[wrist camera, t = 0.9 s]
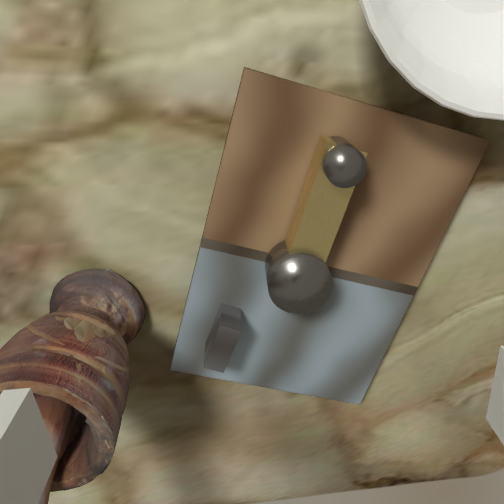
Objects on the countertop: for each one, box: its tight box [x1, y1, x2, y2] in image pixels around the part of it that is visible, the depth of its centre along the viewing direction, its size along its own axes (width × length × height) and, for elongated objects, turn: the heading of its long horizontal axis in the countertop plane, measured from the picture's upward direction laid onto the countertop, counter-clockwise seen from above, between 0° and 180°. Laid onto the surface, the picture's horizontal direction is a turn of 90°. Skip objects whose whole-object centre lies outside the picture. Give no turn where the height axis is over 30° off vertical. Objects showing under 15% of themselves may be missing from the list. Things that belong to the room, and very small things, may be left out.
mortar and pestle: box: [0, 269, 145, 504], centre depth 27 cm, size 12×9×20 cm
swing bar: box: [265, 134, 368, 314], centre depth 29 cm, size 12×4×4 cm, turn 165°
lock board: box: [170, 67, 490, 404], centre depth 32 cm, size 17×24×5 cm
